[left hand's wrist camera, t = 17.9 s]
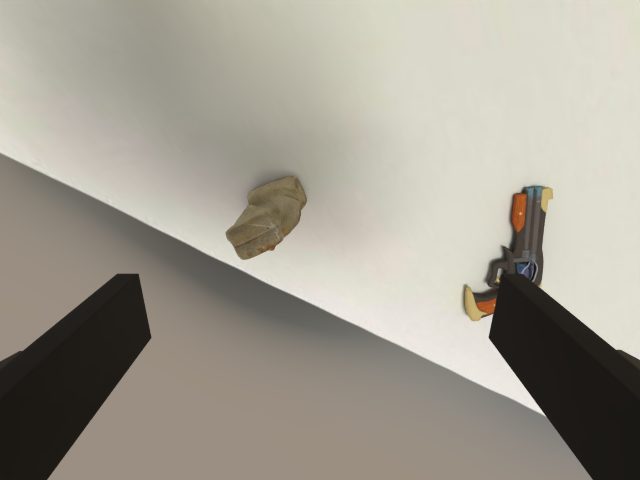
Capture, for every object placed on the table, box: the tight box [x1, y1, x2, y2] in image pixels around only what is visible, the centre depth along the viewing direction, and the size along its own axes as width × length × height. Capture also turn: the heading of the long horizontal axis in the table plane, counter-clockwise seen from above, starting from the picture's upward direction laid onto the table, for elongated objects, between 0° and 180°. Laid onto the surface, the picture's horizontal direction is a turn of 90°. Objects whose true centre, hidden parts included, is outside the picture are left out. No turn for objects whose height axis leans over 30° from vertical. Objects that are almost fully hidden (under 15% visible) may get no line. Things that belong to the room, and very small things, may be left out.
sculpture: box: [226, 176, 307, 260], centre depth 39 cm, size 6×7×15 cm
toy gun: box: [465, 186, 553, 321], centre depth 48 cm, size 3×19×10 cm
